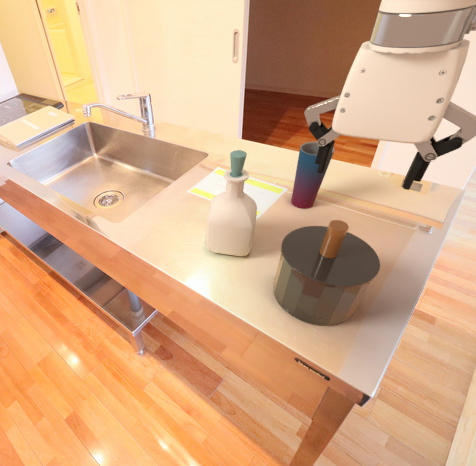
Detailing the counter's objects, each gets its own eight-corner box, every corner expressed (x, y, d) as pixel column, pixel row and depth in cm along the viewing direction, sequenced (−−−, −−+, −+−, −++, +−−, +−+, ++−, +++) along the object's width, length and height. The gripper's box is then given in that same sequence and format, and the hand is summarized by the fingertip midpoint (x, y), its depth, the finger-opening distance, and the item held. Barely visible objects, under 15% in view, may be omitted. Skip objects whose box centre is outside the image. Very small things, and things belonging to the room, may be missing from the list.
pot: (361, 286, 60) (382, 245, 53) (344, 339, 53) (366, 300, 46) (286, 260, 67) (297, 221, 60) (262, 303, 60) (271, 265, 53)
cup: (319, 198, 81) (336, 143, 72) (314, 213, 77) (332, 157, 68) (290, 193, 85) (303, 139, 75) (284, 207, 80) (297, 152, 71)
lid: (384, 247, 54) (402, 213, 49) (367, 305, 46) (387, 272, 41) (295, 222, 61) (303, 190, 57) (267, 268, 54) (275, 236, 49)
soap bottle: (252, 232, 75) (267, 142, 60) (249, 261, 68) (265, 167, 54) (210, 227, 78) (215, 140, 63) (204, 254, 72) (207, 164, 57)
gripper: (540, 16, 30) (448, 176, 40) (330, 25, 39) (301, 153, 50) (549, 34, 25) (444, 207, 36) (312, 39, 35) (285, 175, 46)
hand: (362, 176), depth 43 cm, fingers open, 9 cm apart
